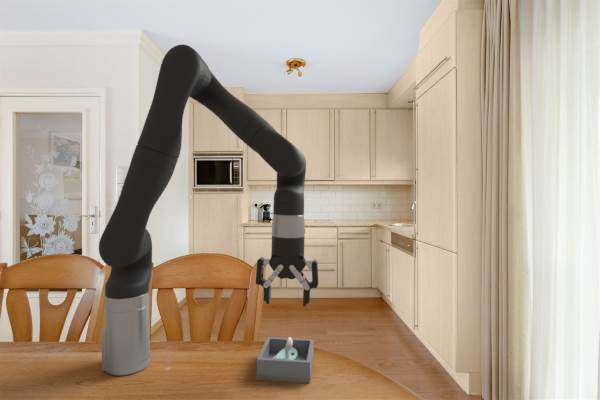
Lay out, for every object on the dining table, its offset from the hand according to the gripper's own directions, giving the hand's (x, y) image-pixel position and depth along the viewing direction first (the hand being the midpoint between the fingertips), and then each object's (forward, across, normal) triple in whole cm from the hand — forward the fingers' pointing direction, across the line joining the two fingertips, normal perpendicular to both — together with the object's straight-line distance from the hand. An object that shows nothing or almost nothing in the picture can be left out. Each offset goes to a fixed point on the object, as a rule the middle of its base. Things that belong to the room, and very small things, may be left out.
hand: (286, 304), depth 82 cm
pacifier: (+14, 0, 0) cm, 14 cm away
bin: (+15, 0, 0) cm, 15 cm away
